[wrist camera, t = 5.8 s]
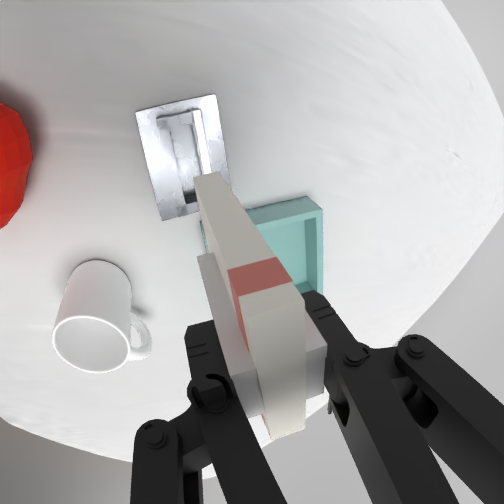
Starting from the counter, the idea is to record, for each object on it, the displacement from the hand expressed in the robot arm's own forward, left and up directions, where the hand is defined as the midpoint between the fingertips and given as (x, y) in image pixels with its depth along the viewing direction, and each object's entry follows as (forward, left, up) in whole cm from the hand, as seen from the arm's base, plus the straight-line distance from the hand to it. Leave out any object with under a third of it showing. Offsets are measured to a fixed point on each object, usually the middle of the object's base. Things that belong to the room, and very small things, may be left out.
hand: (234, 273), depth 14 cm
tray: (+13, +6, -21) cm, 25 cm away
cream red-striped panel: (0, 0, -4) cm, 4 cm away
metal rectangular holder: (-1, 0, -21) cm, 21 cm away
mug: (+13, -13, -21) cm, 28 cm away
